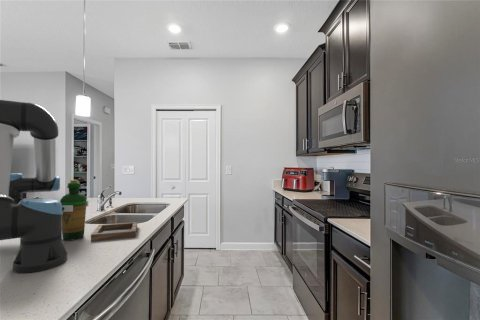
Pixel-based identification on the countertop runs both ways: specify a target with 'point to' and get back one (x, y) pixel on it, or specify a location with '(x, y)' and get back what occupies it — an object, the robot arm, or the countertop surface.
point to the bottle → (74, 212)
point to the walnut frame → (114, 231)
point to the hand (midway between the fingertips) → (80, 205)
